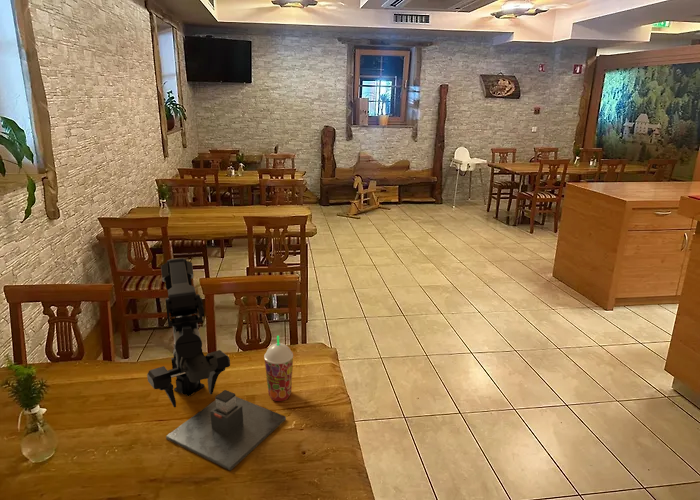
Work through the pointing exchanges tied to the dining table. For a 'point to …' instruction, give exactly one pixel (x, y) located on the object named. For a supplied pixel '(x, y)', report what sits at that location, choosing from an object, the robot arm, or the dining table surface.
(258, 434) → the stand base
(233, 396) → the column
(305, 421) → the dining table surface
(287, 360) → the smoothie
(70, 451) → the dining table surface
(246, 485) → the dining table surface
